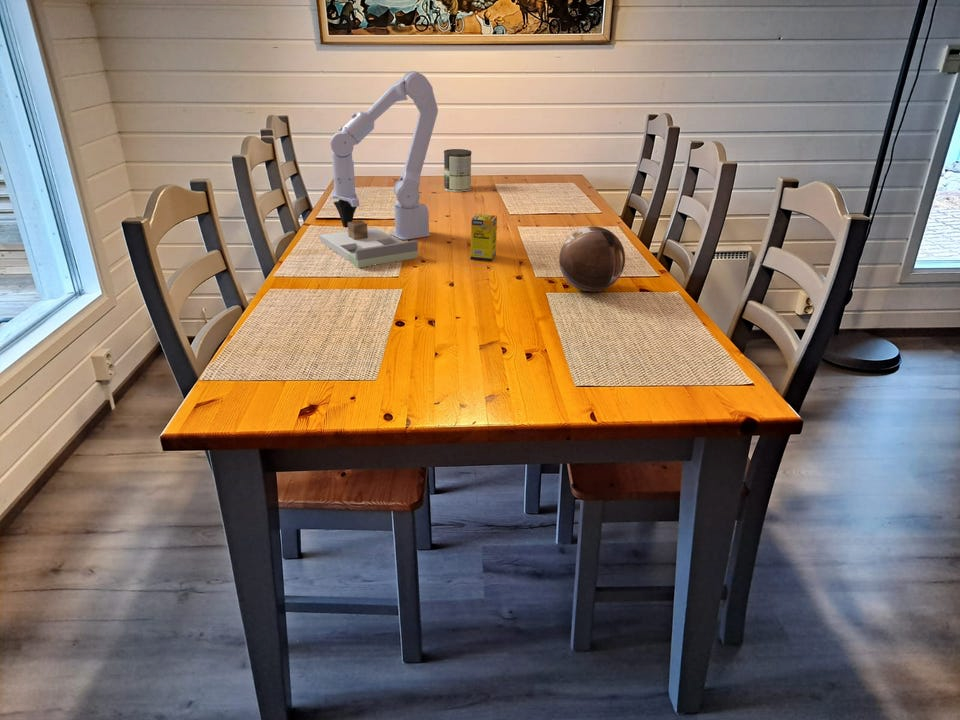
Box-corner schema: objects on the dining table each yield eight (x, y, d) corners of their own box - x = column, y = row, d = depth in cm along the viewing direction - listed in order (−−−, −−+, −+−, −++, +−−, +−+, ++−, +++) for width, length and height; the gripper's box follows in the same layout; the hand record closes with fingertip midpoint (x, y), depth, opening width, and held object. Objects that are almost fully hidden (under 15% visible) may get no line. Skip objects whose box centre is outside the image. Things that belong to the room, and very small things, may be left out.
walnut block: (361, 234, 185) (361, 220, 183) (367, 237, 182) (367, 223, 180) (348, 236, 183) (347, 222, 181) (354, 239, 180) (353, 225, 178)
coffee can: (438, 189, 249) (438, 151, 242) (455, 185, 256) (455, 148, 250) (459, 193, 244) (460, 154, 237) (476, 189, 251) (477, 151, 245)
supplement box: (492, 261, 172) (493, 220, 167) (470, 259, 173) (470, 218, 168) (496, 255, 177) (497, 215, 173) (474, 253, 178) (475, 213, 174)
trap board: (375, 234, 193) (374, 218, 191) (417, 257, 173) (417, 241, 171) (320, 242, 184) (318, 226, 182) (358, 268, 165) (357, 250, 163)
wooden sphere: (545, 283, 158) (550, 222, 152) (598, 276, 164) (605, 216, 157) (577, 305, 146) (584, 239, 139) (633, 296, 152) (642, 233, 145)
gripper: (320, 174, 185) (324, 222, 191) (340, 184, 174) (344, 234, 180) (344, 172, 188) (347, 219, 194) (365, 182, 177) (367, 231, 183)
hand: (347, 226), depth 187 cm, fingers closed
